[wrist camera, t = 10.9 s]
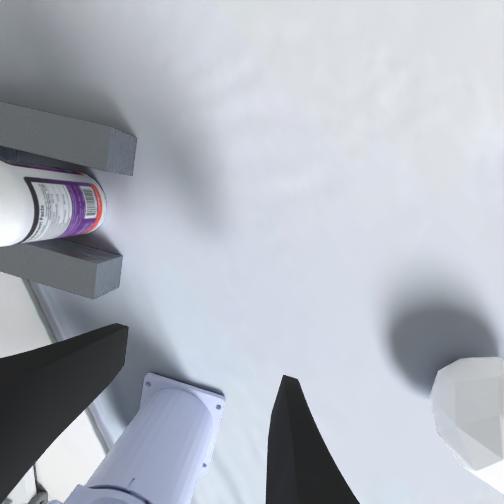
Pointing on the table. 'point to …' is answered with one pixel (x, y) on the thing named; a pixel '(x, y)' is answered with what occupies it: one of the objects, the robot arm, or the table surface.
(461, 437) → the geometric ball
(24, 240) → the pill bottle
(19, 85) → the table surface
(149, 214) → the table surface
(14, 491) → the toy rover
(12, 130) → the bracket
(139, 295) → the table surface
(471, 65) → the table surface
